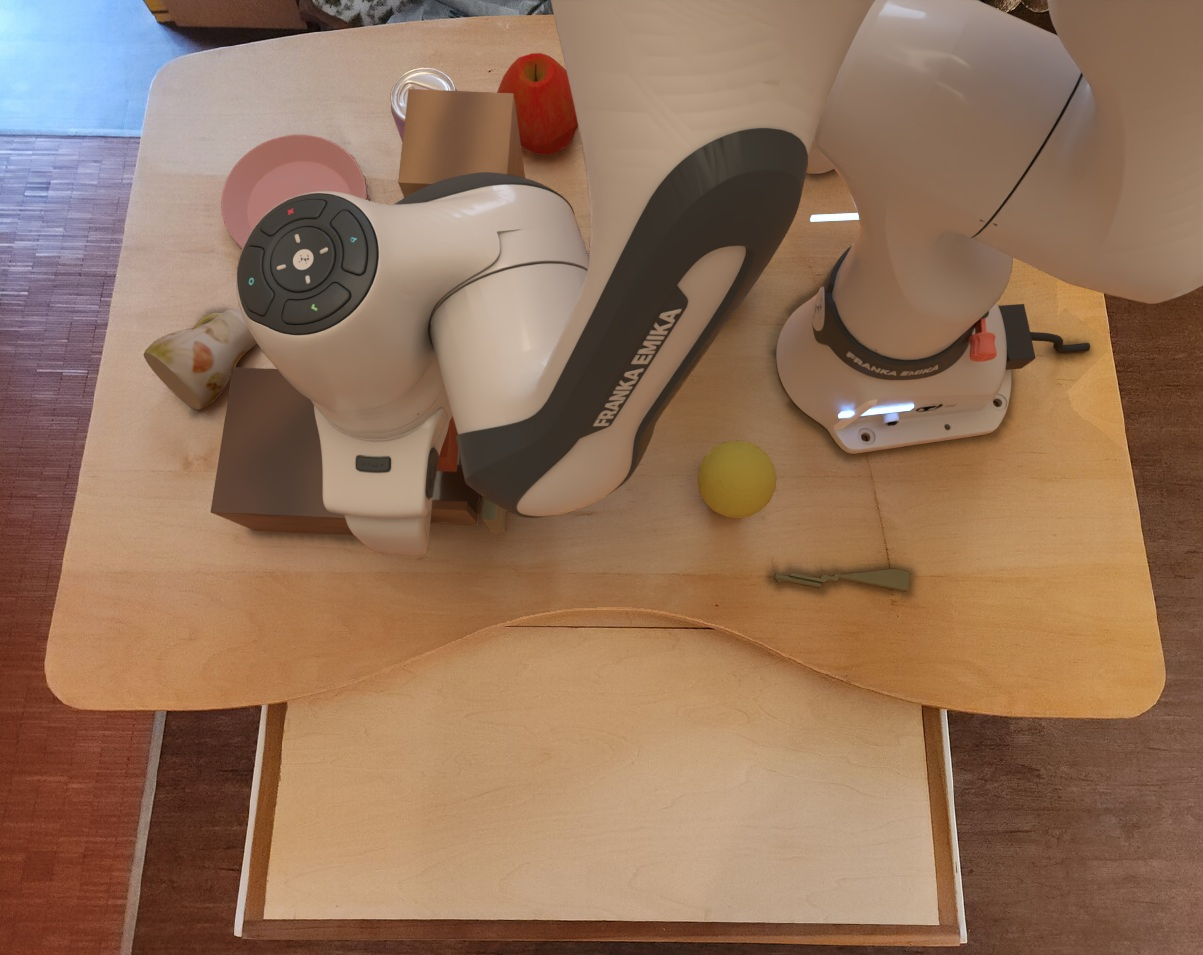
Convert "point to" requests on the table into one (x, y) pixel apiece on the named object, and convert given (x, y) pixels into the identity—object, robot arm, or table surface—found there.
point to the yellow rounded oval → (736, 479)
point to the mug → (201, 356)
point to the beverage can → (415, 80)
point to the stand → (458, 137)
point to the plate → (285, 178)
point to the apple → (541, 103)
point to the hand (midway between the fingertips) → (429, 440)
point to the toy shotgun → (856, 578)
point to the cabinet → (271, 459)
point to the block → (449, 450)
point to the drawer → (463, 502)
